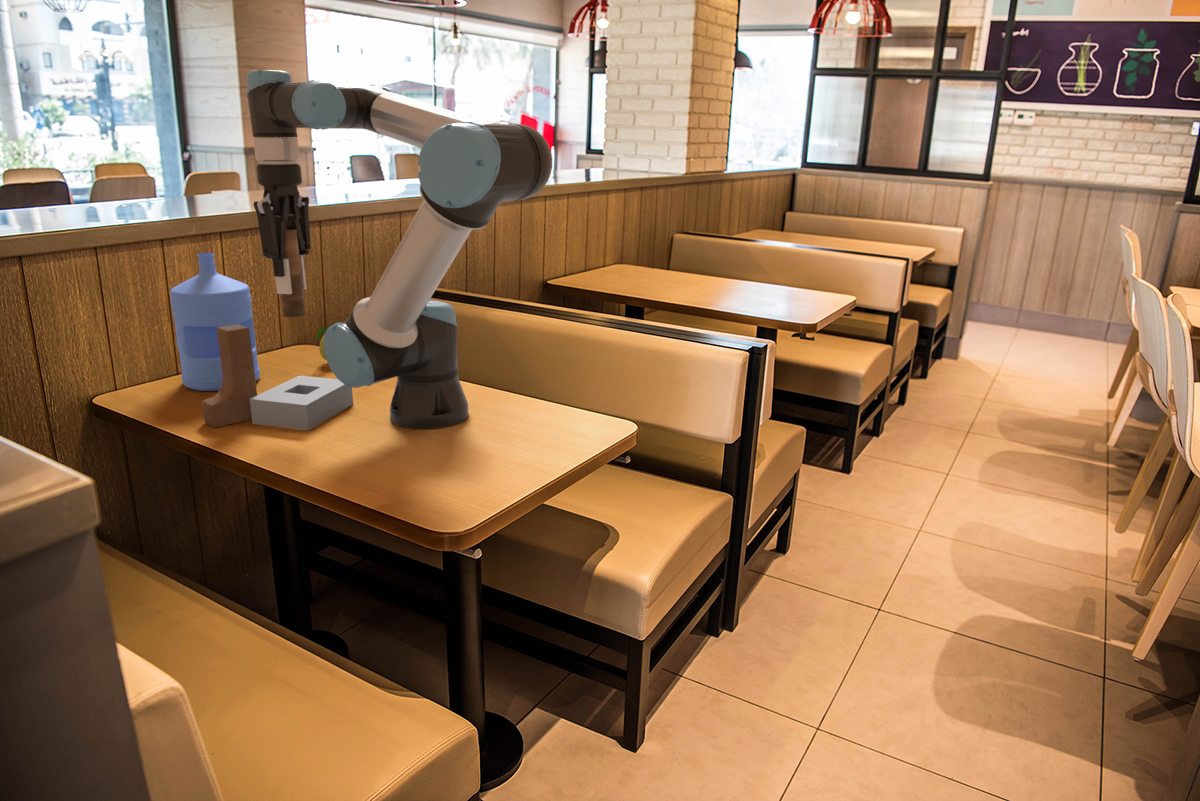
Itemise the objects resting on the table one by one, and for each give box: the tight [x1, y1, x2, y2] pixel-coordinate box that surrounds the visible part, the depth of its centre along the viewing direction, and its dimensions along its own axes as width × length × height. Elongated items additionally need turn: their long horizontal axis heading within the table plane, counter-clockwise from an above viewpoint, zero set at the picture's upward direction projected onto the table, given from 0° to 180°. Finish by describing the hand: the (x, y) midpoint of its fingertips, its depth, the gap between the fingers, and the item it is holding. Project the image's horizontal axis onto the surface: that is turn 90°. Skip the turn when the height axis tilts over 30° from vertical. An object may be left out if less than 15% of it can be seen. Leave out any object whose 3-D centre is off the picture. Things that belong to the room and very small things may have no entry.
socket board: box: [250, 375, 354, 431], centre depth 162 cm, size 16×12×5 cm
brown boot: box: [201, 324, 258, 429], centre depth 156 cm, size 9×4×18 cm, turn 137°
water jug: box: [169, 252, 261, 392], centre depth 177 cm, size 16×16×28 cm
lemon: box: [315, 322, 331, 361], centre depth 195 cm, size 7×6×10 cm
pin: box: [278, 228, 306, 318], centre depth 155 cm, size 4×4×16 cm
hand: (292, 291), depth 156 cm, fingers closed on pin, 4 cm apart
